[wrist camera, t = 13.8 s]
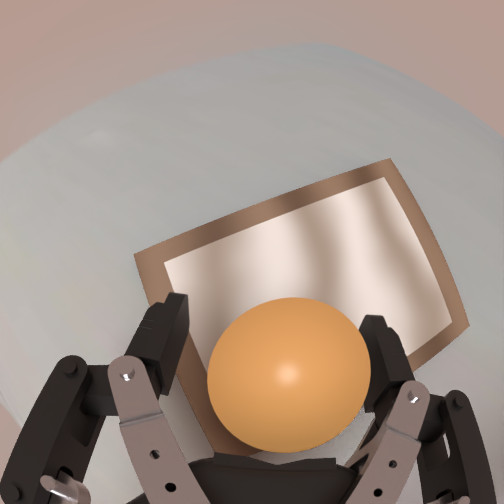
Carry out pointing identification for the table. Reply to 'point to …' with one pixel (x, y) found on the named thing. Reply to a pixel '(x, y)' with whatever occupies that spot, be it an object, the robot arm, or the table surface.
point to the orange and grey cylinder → (289, 375)
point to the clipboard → (308, 272)
